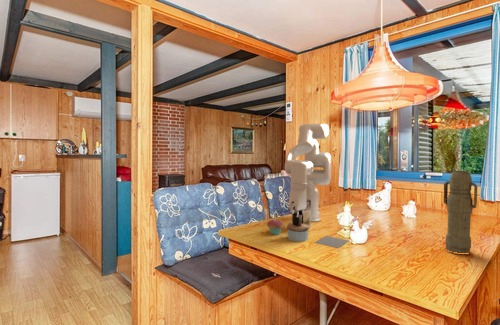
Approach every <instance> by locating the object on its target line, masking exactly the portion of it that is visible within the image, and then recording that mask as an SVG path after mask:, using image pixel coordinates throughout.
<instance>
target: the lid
mask: <svg viewBox="0 0 500 325" xmlns="http://www.w3.org/2000/svg"><path fill="white" fill-rule="evenodd" d="M298 217H299V225H293V223H292V222H290V223H287V224H286V228H287V230H288V229H290V230H294V231H305V230H308V231H309V229H310V228H309V225H307V224H304V223H303V224H302V215H298Z"/></svg>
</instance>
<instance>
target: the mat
mask: <svg viewBox="0 0 500 325" xmlns="http://www.w3.org/2000/svg"><path fill="white" fill-rule="evenodd" d="M349 242H350V240H349V239H343V238H340V237H339V238H338V237H334V236H330V235H329V236H328V235H326V236H324V237H322V238H320V239H318V240H315V241H314V242H313V243H314V244H318V245H321V246H322V245H323V246H327V247H331V248H336V249H339V248H342V247H343V246H345V245H346V244H347V243H349Z"/></svg>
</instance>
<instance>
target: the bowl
mask: <svg viewBox="0 0 500 325" xmlns="http://www.w3.org/2000/svg"><path fill="white" fill-rule="evenodd" d="M287 239H288V240H290V241H291V242H292V241H293V242H306V241H308V240H309V229H308V230H305V231H294V230H290V229H288V228H287Z"/></svg>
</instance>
